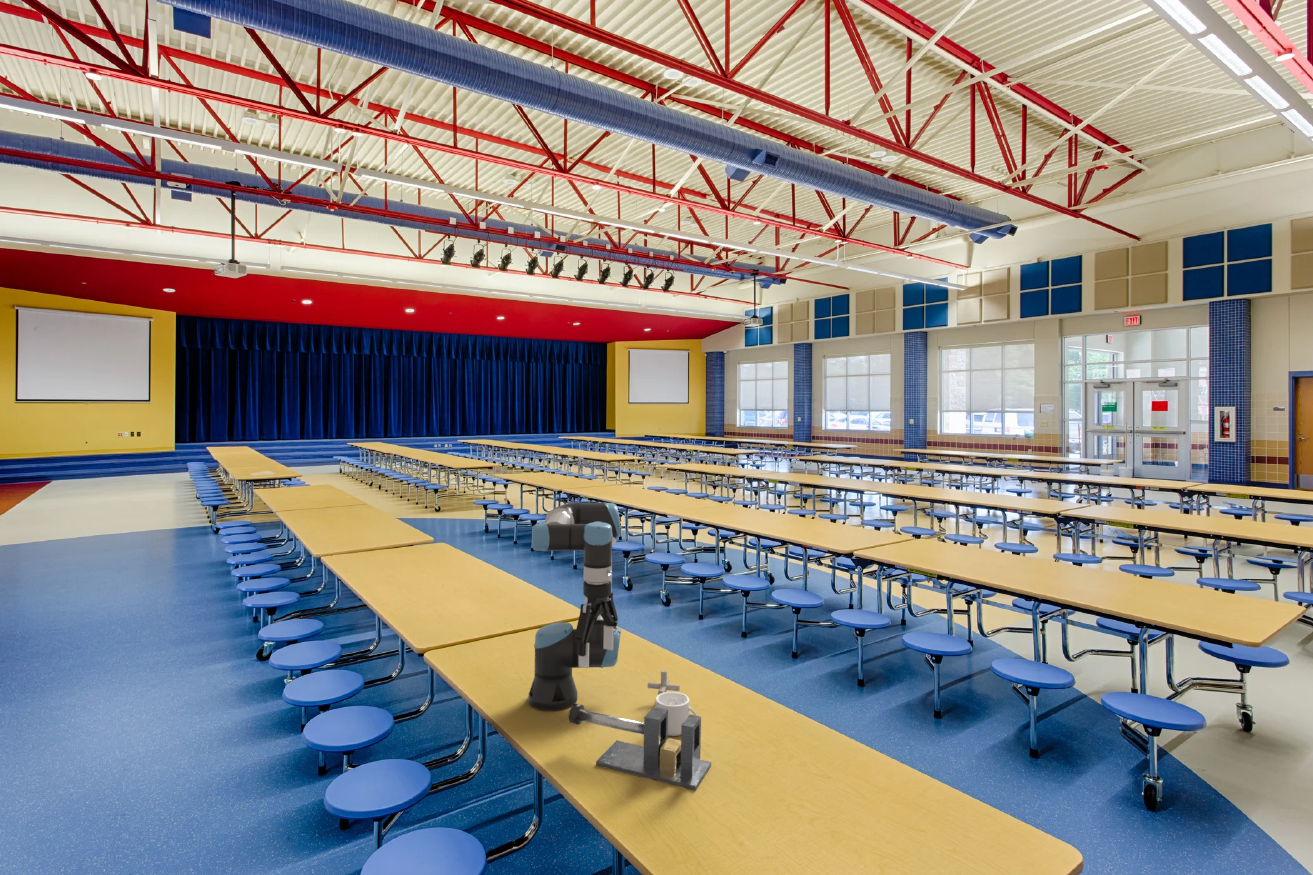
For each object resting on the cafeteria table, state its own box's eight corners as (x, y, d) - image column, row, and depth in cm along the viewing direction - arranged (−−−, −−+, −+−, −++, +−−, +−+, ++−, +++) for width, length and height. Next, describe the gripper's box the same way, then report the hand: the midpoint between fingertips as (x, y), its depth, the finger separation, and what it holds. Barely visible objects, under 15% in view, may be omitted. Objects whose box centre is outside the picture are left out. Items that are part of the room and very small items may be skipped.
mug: (701, 725, 190) (701, 694, 190) (691, 742, 180) (691, 709, 180) (662, 718, 194) (662, 688, 194) (650, 734, 184) (650, 702, 184)
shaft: (568, 726, 175) (568, 707, 175) (578, 718, 179) (578, 700, 179) (647, 744, 166) (648, 725, 166) (655, 735, 170) (655, 716, 170)
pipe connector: (676, 711, 199) (677, 678, 199) (644, 707, 201) (644, 675, 201) (681, 697, 209) (682, 666, 208) (651, 694, 211) (651, 663, 210)
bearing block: (595, 765, 168) (596, 712, 167) (616, 743, 179) (617, 694, 178) (695, 790, 157) (696, 734, 157) (711, 765, 168) (712, 713, 168)
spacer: (659, 769, 164) (660, 748, 164) (668, 758, 170) (668, 737, 169) (674, 773, 163) (675, 751, 163) (682, 762, 168) (683, 741, 168)
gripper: (586, 594, 164) (585, 677, 165) (630, 571, 187) (629, 644, 188) (560, 590, 167) (559, 672, 168) (607, 568, 190) (606, 640, 191)
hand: (596, 657), depth 178 cm, fingers open, 13 cm apart
